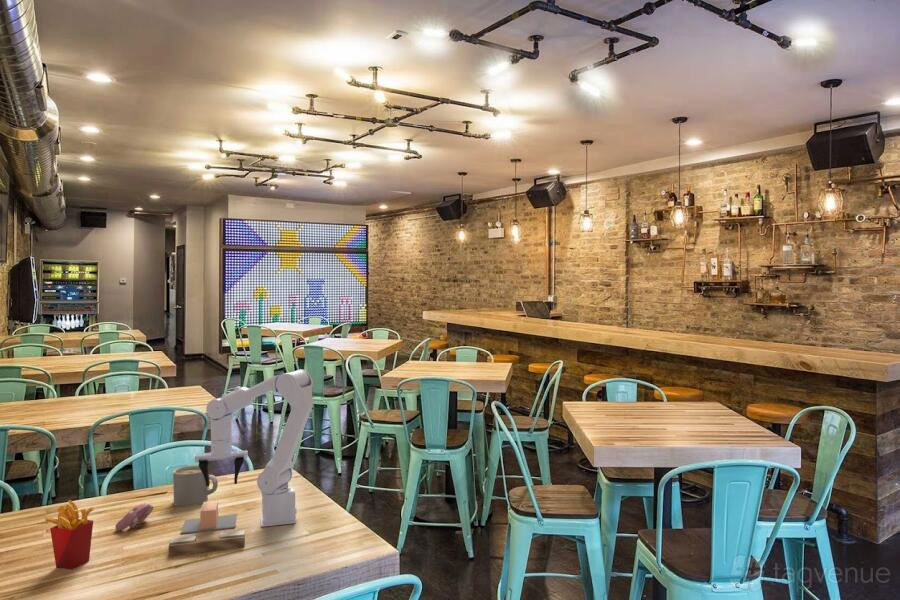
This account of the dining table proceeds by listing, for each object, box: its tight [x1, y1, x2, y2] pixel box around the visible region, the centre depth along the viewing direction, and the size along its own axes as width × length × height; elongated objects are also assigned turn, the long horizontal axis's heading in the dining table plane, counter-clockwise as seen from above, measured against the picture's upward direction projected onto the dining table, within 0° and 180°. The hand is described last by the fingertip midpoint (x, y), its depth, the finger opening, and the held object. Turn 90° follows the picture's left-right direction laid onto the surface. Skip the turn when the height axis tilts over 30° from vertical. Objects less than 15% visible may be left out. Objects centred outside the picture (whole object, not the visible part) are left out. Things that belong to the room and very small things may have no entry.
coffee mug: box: [172, 464, 219, 507], centre depth 192 cm, size 13×10×10 cm
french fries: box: [44, 499, 95, 571], centre depth 147 cm, size 9×8×15 cm
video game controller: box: [114, 502, 154, 532], centre depth 173 cm, size 10×5×7 cm, turn 169°
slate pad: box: [180, 513, 238, 535], centre depth 173 cm, size 14×10×1 cm
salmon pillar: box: [199, 500, 219, 529], centre depth 173 cm, size 4×8×5 cm, turn 17°
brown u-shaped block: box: [168, 529, 246, 557], centre depth 157 cm, size 18×4×3 cm, turn 107°
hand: (221, 484), depth 179 cm, fingers open, 7 cm apart
